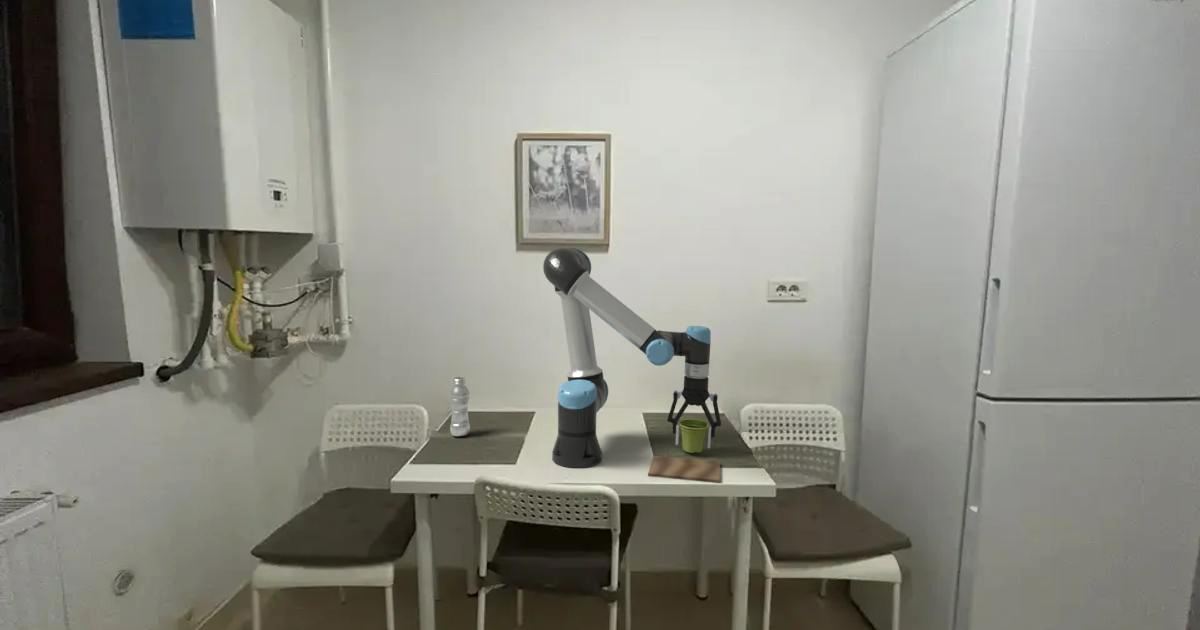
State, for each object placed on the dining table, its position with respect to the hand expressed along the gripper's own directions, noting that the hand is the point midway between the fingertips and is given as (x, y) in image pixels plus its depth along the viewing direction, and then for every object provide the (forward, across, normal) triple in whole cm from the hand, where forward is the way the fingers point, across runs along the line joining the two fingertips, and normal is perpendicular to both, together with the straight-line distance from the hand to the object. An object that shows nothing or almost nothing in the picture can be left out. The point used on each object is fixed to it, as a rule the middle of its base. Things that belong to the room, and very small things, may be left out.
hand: (692, 445), depth 180 cm
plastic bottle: (+4, -78, -2) cm, 79 cm away
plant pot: (+2, 0, 0) cm, 2 cm away
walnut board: (+3, -2, -14) cm, 14 cm away
